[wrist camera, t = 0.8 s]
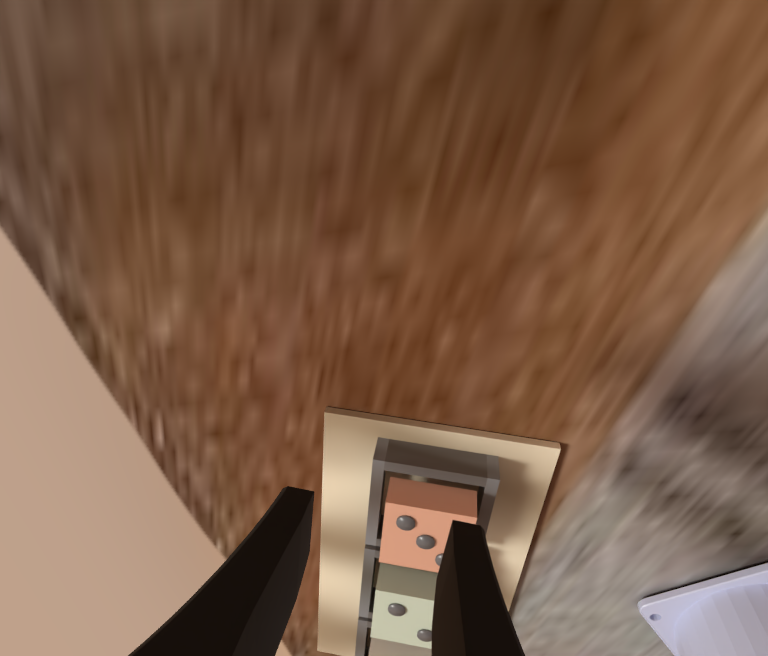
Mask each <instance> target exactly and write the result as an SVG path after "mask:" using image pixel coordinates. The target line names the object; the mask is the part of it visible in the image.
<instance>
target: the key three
mask: <svg viewBox="0 0 768 656" xmlns="http://www.w3.org/2000/svg"><path fill="white" fill-rule="evenodd" d="M452 520H457V521H462V522H466V523H471V524H476V521H477V491H474V490H468V489H462V488H456V487H449V486H443V485H437V484H431V483H425V482H419V481H413V480H407V479H401V478H395V477H390V481H389V487H388V492H387V497H386V503H385V512H384V521H383V529H382V538H381V547H380V556H379V562H382V563H387V564H393V565H398V566H404V567H409V568H415V569H420V570H426V571H431V572H437V573H438V571H439V568H440V564H441V560H442V557H443V553H444V549H445V546H446V542H447V538H448V535H449V531H450V527H451V524H452Z"/></svg>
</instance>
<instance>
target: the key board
mask: <svg viewBox="0 0 768 656" xmlns="http://www.w3.org/2000/svg"><path fill="white" fill-rule="evenodd" d="M560 450H561V448H560V443H557V442H551V441H544V440H538V439H532V438H525V437H519V436H512V435H506V434H500V433H493V432H487V431H480V430H474V429H467V428H461V427H455V426H448V425H442V424H435V423H429V422H422V421H416V420H410V419H403V418H397V417H390V416H384V415H378V414H371V413H365V412H358V411H352V410H345V409H339V408H333V407H326V410H325V414H324V447H323V481H322V514H321V548H320V581H319V614H318V648H317V651H321V652H326V653H331V654H336V655H341V656H368V655H369V649H370V643H371V637H370V635H371V626H372V617H373V608H374V600H375V591H376V585H377V579H378V573H379V568H380V563H382V562H379V556H380V547H381V538H382V529H383V521H384V512H385V503H386V497H387V492H388V487H389V481H390V477H395V478H401V479H407V480H413V481H419V482H425V483H431V484H437V485H443V486H449V487H456V488H462V489H468V490H474V491H477V521H476V525H481V527H482V528H483V529H484V531H485V536H486V540H487V544H488V549H489V552H490V556H491V560H492V563H493V567H494V570H495V573H496V577H497V580H498V583H499V586H500V589H501V592H502V595H503V598H504V601H505V604H506V607H507V610H508V612H509V609H510V606H511V603H512V599H513V596H514V593H515V590H516V587H517V584H518V581H519V578H520V575H521V572H522V568H523V565H524V562H525V559H526V556H527V553H528V550H529V547H530V544H531V540H532V537H533V534H534V531H535V528H536V525H537V522H538V519H539V516H540V513H541V509H542V506H543V503H544V500H545V497H546V494H547V491H548V488H549V485H550V481H551V478H552V475H553V472H554V469H555V466H556V463H557V460H558V457H559V453H560ZM384 564H387V563H384ZM390 565H393V564H390ZM395 566H398V565H395ZM401 567H404V566H401ZM406 568H409V567H406ZM412 569H415V568H412ZM418 570H420V569H418ZM423 571H426V570H423ZM429 572H431V571H429ZM434 573H437V572H434Z"/></svg>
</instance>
